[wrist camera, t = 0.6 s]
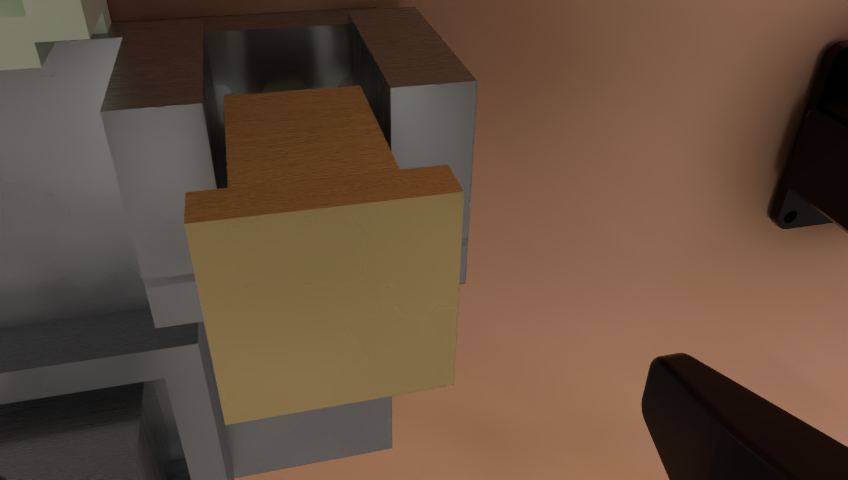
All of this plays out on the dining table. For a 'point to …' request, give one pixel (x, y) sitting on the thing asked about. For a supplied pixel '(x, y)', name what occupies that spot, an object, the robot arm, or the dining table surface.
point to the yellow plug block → (323, 259)
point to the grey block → (86, 436)
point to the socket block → (165, 206)
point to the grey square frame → (45, 28)
